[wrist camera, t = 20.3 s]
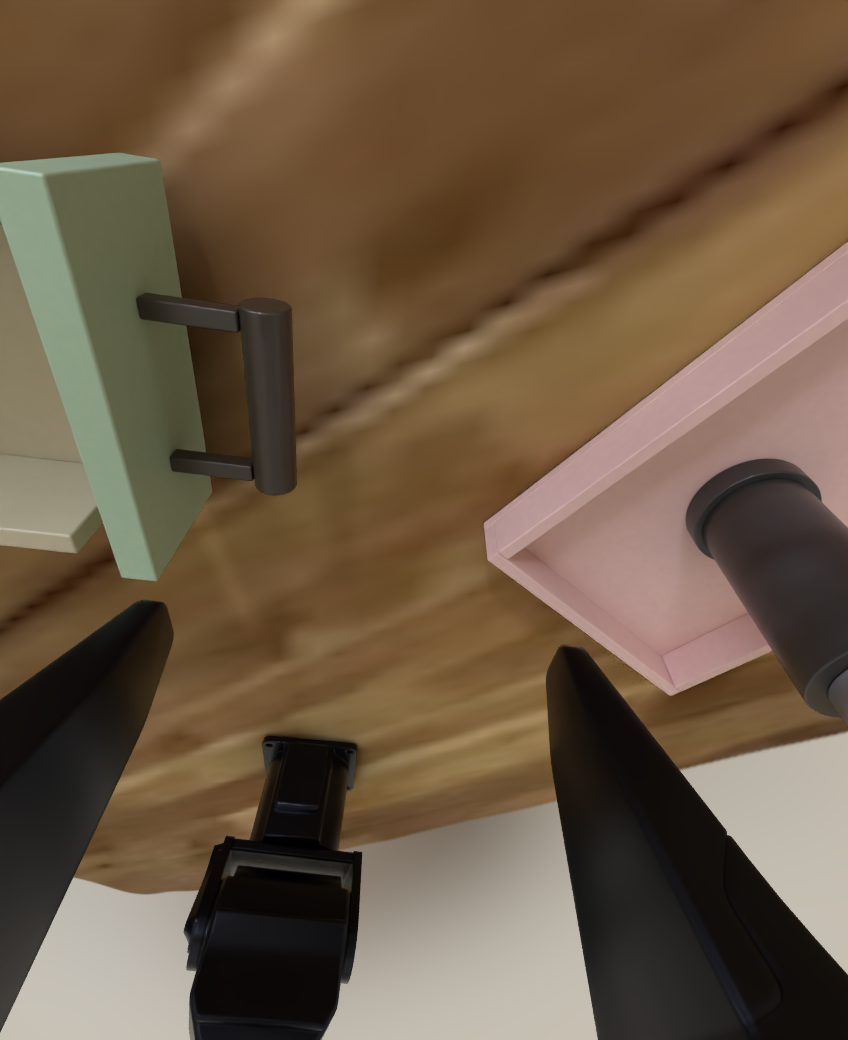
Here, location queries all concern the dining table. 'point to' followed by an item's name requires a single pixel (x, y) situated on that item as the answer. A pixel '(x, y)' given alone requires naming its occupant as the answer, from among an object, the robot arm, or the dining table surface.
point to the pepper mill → (783, 569)
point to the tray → (686, 488)
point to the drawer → (117, 367)
